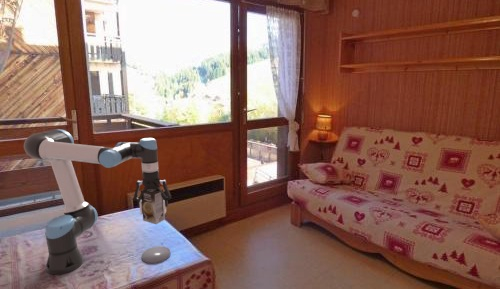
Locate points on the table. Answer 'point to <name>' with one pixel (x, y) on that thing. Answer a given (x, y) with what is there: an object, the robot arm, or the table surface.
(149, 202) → the coffee box
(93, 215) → the robot arm
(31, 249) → the table surface
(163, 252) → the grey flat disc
